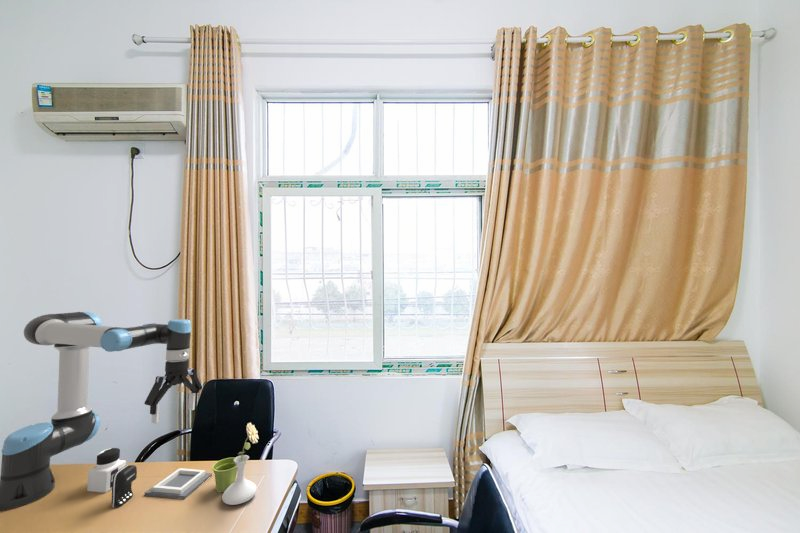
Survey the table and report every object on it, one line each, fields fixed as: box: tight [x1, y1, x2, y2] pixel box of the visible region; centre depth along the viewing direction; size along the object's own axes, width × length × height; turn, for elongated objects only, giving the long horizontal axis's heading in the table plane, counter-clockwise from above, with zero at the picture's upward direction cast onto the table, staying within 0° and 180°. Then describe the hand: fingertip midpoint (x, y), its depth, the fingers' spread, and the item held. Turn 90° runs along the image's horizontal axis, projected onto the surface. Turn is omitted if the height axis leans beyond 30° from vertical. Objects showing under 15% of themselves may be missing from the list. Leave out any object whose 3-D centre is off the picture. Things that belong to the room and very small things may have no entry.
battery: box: [110, 464, 138, 508], centre depth 113 cm, size 7×4×11 cm, turn 3°
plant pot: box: [211, 457, 237, 493], centre depth 121 cm, size 9×9×9 cm
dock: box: [144, 467, 213, 500], centre depth 122 cm, size 16×14×2 cm
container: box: [86, 447, 127, 494], centre depth 121 cm, size 8×8×13 cm
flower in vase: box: [221, 422, 260, 506], centre depth 117 cm, size 13×11×25 cm
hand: (174, 415), depth 122 cm, fingers open, 13 cm apart
